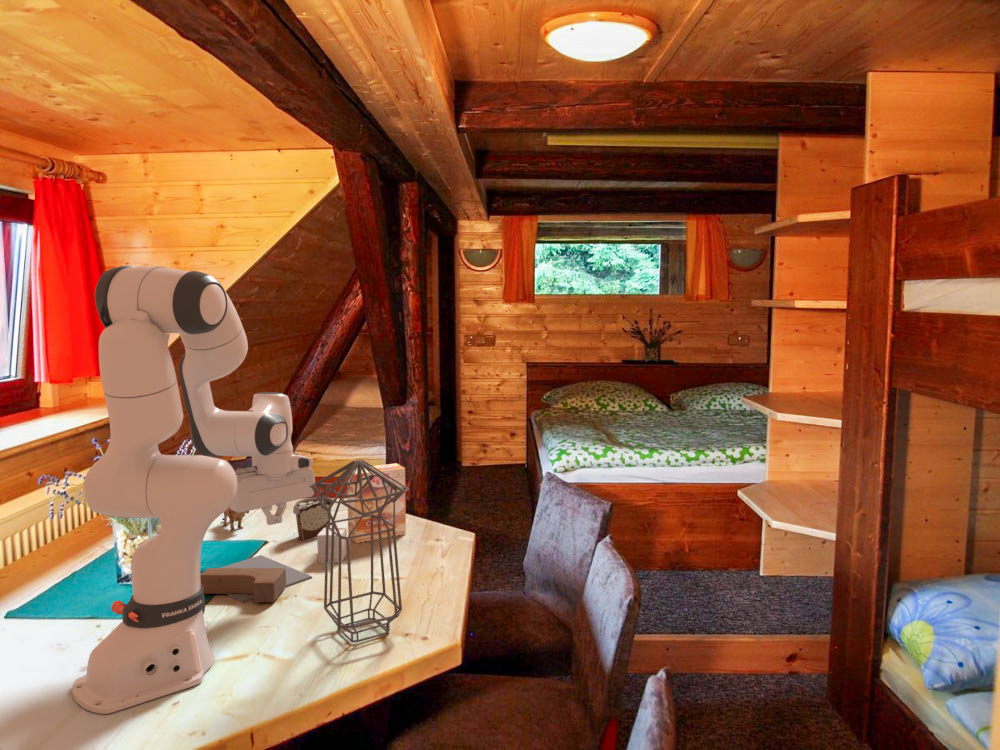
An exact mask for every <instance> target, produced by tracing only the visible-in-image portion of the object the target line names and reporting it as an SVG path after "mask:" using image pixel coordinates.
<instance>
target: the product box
mask: <svg viewBox="0 0 1000 750" xmlns="http://www.w3.org/2000/svg"><path fill="white" fill-rule="evenodd" d="M330 528H331V529H332V527H330ZM337 528H338V530H339V532H340V534H341V536H344V537H348V535H347V533H348V530H347V527H337ZM334 531H335V532H336V530H335V528H334ZM336 533H337V532H336ZM331 538H332V531H331V530H330V529H329V538H328V564H331ZM316 540H317V541H316V542H317V561H318V562H325V548H326V528H323V529H322V531H321V532H320V533H319V534H318V535H317V538H316ZM345 558H347V545H346V540H345V539H342V557H341V563H342V562H343V561H344V559H345ZM329 562H330V563H329ZM335 563H336V564H337V563H338V564H339V537H338V536H336V535H335V534H334V559H333V564H335Z"/></svg>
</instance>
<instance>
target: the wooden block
mask: <svg viewBox="0 0 1000 750" xmlns="http://www.w3.org/2000/svg"><path fill="white" fill-rule="evenodd" d="M200 574H201V573H200ZM200 577H201V584H202V585H203V589H204V595H207V594H209V595H210V594H211V595H212V594H213V595H216V594H218V595H221V594H222V595H223V594H225V595H227V594H251V595H254V599H253V601H254V602H253V603H274V602H275V601H276V600H277V599H278V598H279V596H281V594H282V593H283V591H284V590H285V589H286V588H287V587H286V570H285V568H221V567H219V568H218V567H215V568H213V567H211V568H210V567H209V568H207V569H206V570H205V571H203V572H202V574H201V576H200Z"/></svg>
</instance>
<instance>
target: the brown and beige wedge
mask: <svg viewBox="0 0 1000 750" xmlns="http://www.w3.org/2000/svg"><path fill="white" fill-rule="evenodd" d="M323 497H324V496H322V502H323ZM330 498H331V499H332V497H330ZM325 502H326V507H329V506H330V504H331V502H330V501H328V500H325ZM323 504H324V502H323ZM292 512H293V514H294V515H295V518H296V526H297V534H298V540H299V541H300V542H302V543H304V541H305V542H308V541H310V539H311V540H313V538H314V539H316V538H315V537H317V535H318V534H319V533H320V532H321V531H322V529H323V528H326V526H325V524H329V520H328V514H327V511H325V510H324V509H322V508H321V504H320V502H319V500H318V499H317V497H316V496H314V497H313V496H312V497H307V498H303V499H299V500H296V502H295V503H294V506H293V511H292ZM330 512H331V513H332V508H331V509H330ZM330 521H331V519H330ZM329 527H330V528H331V525H330V526H329ZM307 540H308V541H307Z"/></svg>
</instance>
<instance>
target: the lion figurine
mask: <svg viewBox="0 0 1000 750" xmlns="http://www.w3.org/2000/svg"><path fill="white" fill-rule="evenodd" d="M246 514H250V511H246V512H241V513H238V512H235V511H233V510H231V508H230V507H229V508H228V509H227V510H226V511H225V512H224V513H223V518H222V519H221V520H222V521H223V524H222V526H223V527H227V526H228V523H227V521H228V519H229V526H230V527H229V529H230V530H229V532H235V531H236V530H235V525H234V524H235V522H237V529H238V530H243V529H244V527H243V526H242V521H243V518H245V517H246Z"/></svg>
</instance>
